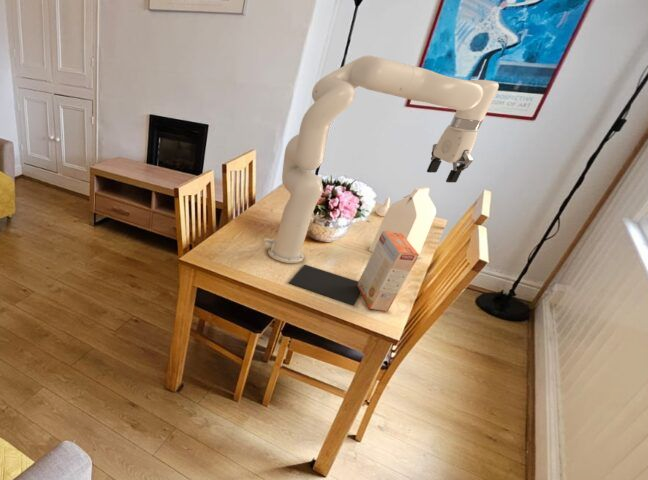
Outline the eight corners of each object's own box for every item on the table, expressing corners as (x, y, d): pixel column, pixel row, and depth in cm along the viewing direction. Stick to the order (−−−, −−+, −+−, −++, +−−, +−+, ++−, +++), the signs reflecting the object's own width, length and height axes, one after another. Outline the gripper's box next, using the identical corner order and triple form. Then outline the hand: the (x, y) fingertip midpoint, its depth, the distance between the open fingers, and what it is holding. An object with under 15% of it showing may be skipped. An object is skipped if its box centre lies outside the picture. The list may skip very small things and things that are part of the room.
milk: (396, 263, 164) (426, 196, 149) (368, 250, 173) (395, 185, 158) (418, 257, 168) (450, 191, 153) (390, 244, 177) (418, 180, 162)
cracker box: (389, 312, 139) (420, 254, 127) (368, 309, 140) (397, 251, 127) (375, 287, 150) (403, 232, 138) (356, 285, 151) (382, 229, 139)
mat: (288, 283, 153) (289, 282, 152) (304, 265, 163) (304, 264, 163) (353, 305, 142) (353, 304, 142) (365, 285, 152) (366, 284, 152)
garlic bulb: (390, 219, 197) (397, 201, 192) (374, 215, 199) (381, 198, 195) (391, 214, 201) (398, 197, 196) (375, 211, 204) (382, 194, 199)
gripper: (435, 117, 148) (413, 168, 157) (474, 130, 133) (447, 186, 143) (458, 117, 148) (434, 168, 158) (498, 130, 134) (470, 186, 143)
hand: (440, 177), depth 150 cm, fingers open, 9 cm apart
